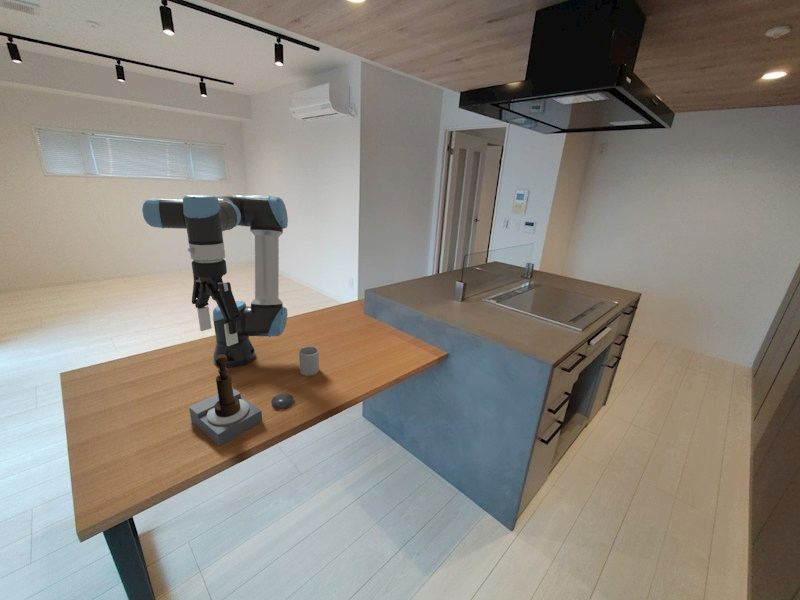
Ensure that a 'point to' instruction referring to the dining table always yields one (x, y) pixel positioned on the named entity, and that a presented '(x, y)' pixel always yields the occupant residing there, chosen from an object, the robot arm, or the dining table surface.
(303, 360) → the cup
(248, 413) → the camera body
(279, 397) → the dark grey dome
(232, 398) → the brown wooden pepper mill
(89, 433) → the dining table surface
